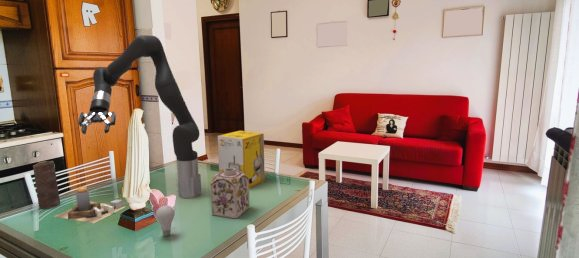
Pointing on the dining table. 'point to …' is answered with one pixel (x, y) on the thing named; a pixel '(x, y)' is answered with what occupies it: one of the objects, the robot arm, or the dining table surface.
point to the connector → (83, 199)
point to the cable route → (106, 209)
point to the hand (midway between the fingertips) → (94, 132)
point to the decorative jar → (229, 193)
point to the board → (90, 220)
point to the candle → (46, 184)
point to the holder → (81, 214)
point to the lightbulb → (165, 218)
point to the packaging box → (243, 154)
